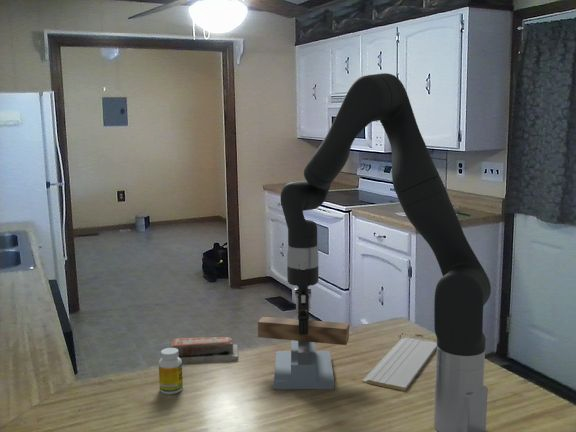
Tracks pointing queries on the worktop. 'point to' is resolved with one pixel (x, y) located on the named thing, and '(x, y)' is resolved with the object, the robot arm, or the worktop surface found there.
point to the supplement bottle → (170, 371)
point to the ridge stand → (303, 368)
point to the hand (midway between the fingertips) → (303, 328)
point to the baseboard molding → (401, 363)
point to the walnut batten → (316, 330)
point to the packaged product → (205, 349)
